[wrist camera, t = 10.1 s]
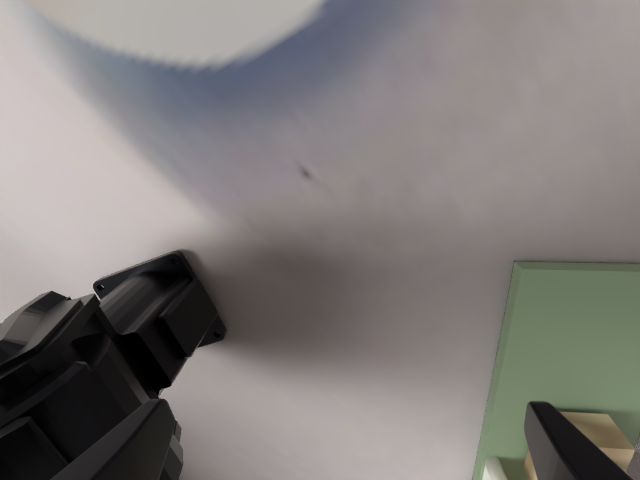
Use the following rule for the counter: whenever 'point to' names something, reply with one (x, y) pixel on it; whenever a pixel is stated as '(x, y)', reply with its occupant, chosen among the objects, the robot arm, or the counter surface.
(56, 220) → the counter surface
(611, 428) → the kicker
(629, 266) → the board
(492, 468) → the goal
